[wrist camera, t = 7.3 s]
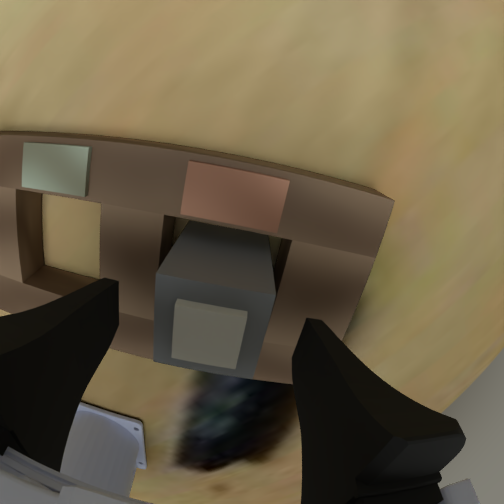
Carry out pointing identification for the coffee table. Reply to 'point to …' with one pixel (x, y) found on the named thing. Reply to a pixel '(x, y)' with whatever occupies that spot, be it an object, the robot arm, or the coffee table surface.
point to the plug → (214, 300)
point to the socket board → (194, 208)
